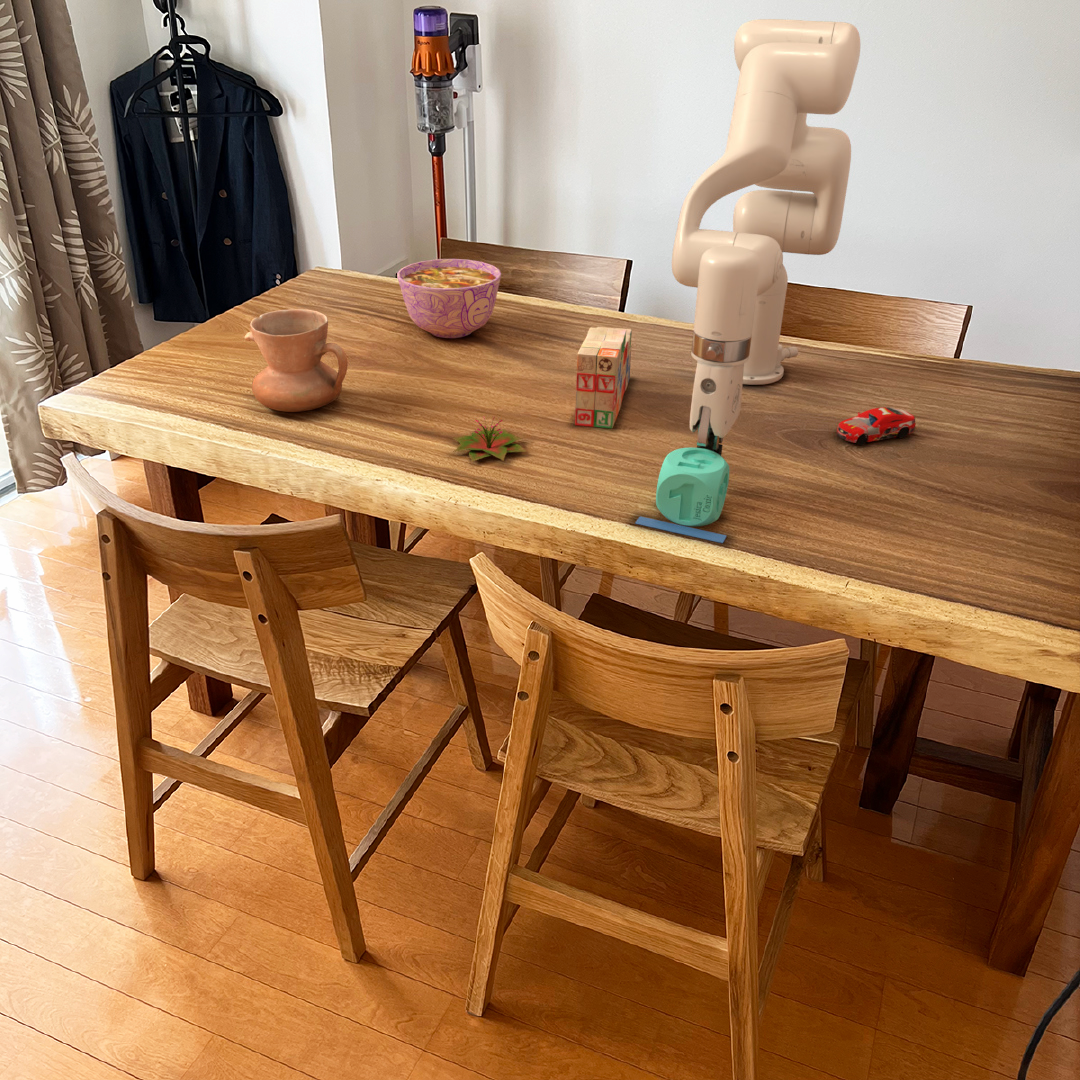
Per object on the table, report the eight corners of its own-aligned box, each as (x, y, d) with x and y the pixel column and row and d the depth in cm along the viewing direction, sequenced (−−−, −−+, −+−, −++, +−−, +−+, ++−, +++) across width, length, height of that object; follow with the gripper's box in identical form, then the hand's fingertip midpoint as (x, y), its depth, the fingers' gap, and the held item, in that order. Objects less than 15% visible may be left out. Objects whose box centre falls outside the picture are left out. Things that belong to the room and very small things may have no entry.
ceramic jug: (230, 411, 160) (216, 327, 153) (280, 380, 172) (269, 300, 164) (327, 429, 155) (317, 343, 148) (371, 395, 167) (364, 314, 159)
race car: (848, 448, 151) (852, 425, 149) (828, 434, 156) (832, 411, 154) (919, 436, 155) (924, 413, 153) (897, 422, 159) (902, 400, 157)
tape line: (635, 523, 131) (635, 523, 131) (639, 516, 133) (639, 516, 133) (722, 543, 127) (722, 542, 127) (726, 536, 129) (726, 535, 128)
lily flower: (465, 472, 143) (464, 444, 141) (439, 439, 152) (437, 412, 150) (540, 458, 147) (541, 430, 145) (510, 427, 156) (510, 400, 154)
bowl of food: (499, 350, 186) (498, 289, 180) (393, 348, 186) (389, 288, 180) (504, 315, 203) (503, 259, 197) (407, 313, 203) (404, 257, 197)
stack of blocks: (595, 376, 175) (598, 308, 169) (630, 379, 174) (634, 311, 168) (574, 425, 157) (576, 352, 151) (613, 429, 156) (617, 356, 150)
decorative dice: (653, 520, 132) (657, 467, 128) (670, 493, 138) (674, 442, 134) (711, 532, 129) (718, 478, 125) (725, 504, 136) (732, 453, 131)
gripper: (735, 369, 121) (719, 499, 130) (762, 331, 132) (745, 453, 142) (676, 360, 123) (665, 488, 133) (708, 323, 135) (695, 444, 144)
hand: (706, 470), depth 137 cm, fingers closed
